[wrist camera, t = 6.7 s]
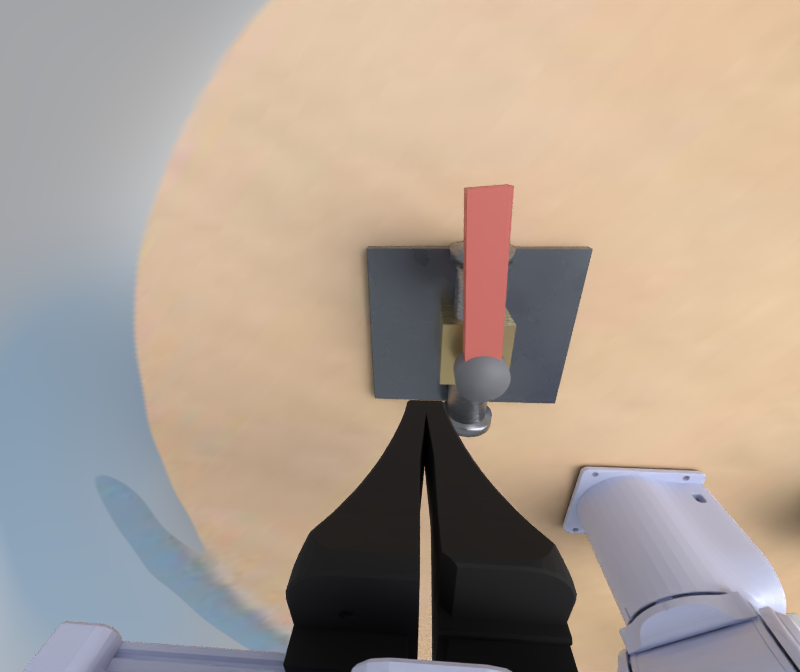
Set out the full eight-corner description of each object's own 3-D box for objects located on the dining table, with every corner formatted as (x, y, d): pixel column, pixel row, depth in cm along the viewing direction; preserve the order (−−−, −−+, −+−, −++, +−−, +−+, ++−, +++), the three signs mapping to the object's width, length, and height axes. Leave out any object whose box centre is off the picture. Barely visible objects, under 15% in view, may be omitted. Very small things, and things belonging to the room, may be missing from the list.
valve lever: (503, 388, 19) (508, 401, 18) (453, 389, 19) (455, 402, 18) (519, 183, 14) (527, 184, 13) (452, 188, 15) (454, 190, 13)
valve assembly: (367, 237, 20) (354, 256, 16) (589, 238, 20) (632, 257, 16) (376, 398, 26) (367, 441, 22) (550, 403, 25) (574, 449, 21)
